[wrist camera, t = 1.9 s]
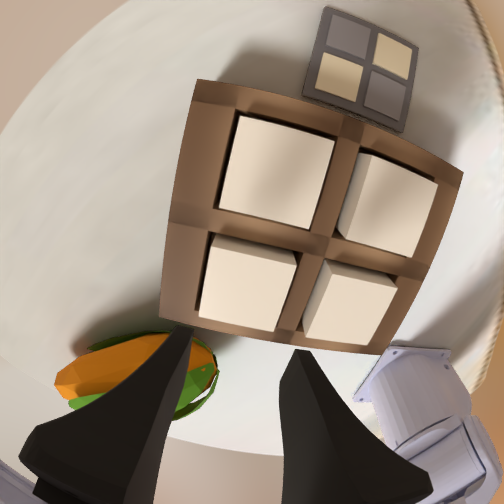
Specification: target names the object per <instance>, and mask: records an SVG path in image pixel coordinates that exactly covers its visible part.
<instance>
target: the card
mask: <svg viewBox="0 0 504 504" xmlns="http://www.w3.org/2000/svg"><path fill="white" fill-rule="evenodd" d="M418 49H419V48H418V47H416V46H415V45H413V44H411V43H409V42H407V41H406V40H404V39H402V38H400V37H398V36H396V35H394V34H392V33H390V32H388V31H386V30H384V29H382V28H379V27H377V26H375V25H373V24H371V23H368V22H366V21H364V20H361V19H359V18H356V17H354V16H351V15H348V14H346V13H343V12H340V11H337V10H335V9H332V8H329V7H326V6H325V7H324V9H323V13H322V17H321V21H320V25H319V29H318V33H317V37H316V41H315V45H314V49H313V53H312V57H311V61H310V64H309V68H308V72H307V76H306V80H305V84H304V88H303V92H302V96H306V97H309V98H312V99H315V100H319V101H322V102H325V103H328V104H331V105H334V106H336V107H339V108H342V109H345V110H347V111H350V112H353V113H355V114H358V115H360V116H363V117H365V118H368V119H370V120H373V121H375V122H377V123H380V124H382V125H384V126H387V127H389V128H391V129H393V130H395V131H398V132H400V133H403V130H404V126H405V122H406V117H407V113H408V108H409V103H410V98H411V93H412V88H413V82H414V76H415V70H416V64H417V56H418Z"/></svg>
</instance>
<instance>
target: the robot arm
mask: <svg viewBox="0 0 504 504" xmlns="http://www.w3.org/2000/svg"><path fill="white" fill-rule="evenodd" d="M193 332H194V329H191V328H187V327H183V326H179V325H178V326H176V327H175V328H174V329H173V331H172V332H171V333H170V335H169V336H168V337H167V338H166V340H165V341H164V342H163V343H162V344H161V345H160V346H159V348H158V349H157V350H156V351H155V352H154V353H153V354H152V355H151V356H150V357H149V358H148V359H147V360H146V361H145V362H144V363H143V364H142V365H140V366H139V367H138V368H137V369H136V370H135V371H134V372H133V373H132V374H130V375H129V376H128V377H127V378H126V379H124V380H123V381H122V382H121V383H119V384H118V385H116V386H115V387H114V388H112V389H111V390H109V391H108V392H106V393H105V394H103V395H102V396H100V397H99V398H97V399H95V400H94V401H92V402H90V403H89V404H87V405H85V406H83V407H81V408H79V409H77V410H75V411H73V412H71V413H69V414H67V415H64V416H62V417H60V418H57V419H54V420H52V421H49V422H46V423H43V424H40V425H37V426H36V427H35V428H34V430H33V431H32V432H31V434H30V435H29V436H28V438H27V440H26V442H25V444H24V446H23V448H22V450H21V452H20V454H19V456H18V457H19V459H20V461H21V462H22V463H23V464H24V465H25V466H26V467H27V468H28V469H29V470H30V471H32V472H33V473H34V474H35V475H36V476H38V480H37V482H36V484H34V483H33V482H31V481H30V480H28V479H27V478H25V477H24V476H22V475H20V474H19V473H18V472H16V471H15V470H13V469H12V468H11V467H9V466H8V465H7V464H5V463H4V462H3V461H1V460H0V504H153V500H154V494H155V489H156V483H157V478H158V472H159V468H160V462H161V457H162V453H163V449H164V444H165V440H166V436H167V433H168V430H169V427H170V424H171V421H172V418H173V416H174V413H175V410H176V407H177V404H178V401H179V399H180V396H181V393H182V390H183V387H184V383H185V379H186V375H187V370H188V366H189V359H190V352H191V345H192V339H193ZM450 355H451V351H450V350H447V349H426V348H411V347H399V346H390V347H388V348H387V349H386V350H385V352H384V353H383V355H382V356H381V358H380V360H379V361H378V363H377V364H376V366H375V367H374V368H373V370H372V371H371V373H370V374H369V376H368V377H367V379H366V380H365V381H364V383H363V384H362V386H361V387H360V388H359V390H358V391H357V392H356V394H355V395H354V396H353V398H352V399H353V402H372V404H373V407H374V410H375V412H376V415H377V418H378V421H379V424H380V428H381V431H382V434H383V437H384V440H385V443H386V445H385V444H384V443H383V442H382V441H380V440H379V439H378V438H377V437H376V436H375V435H374V434H373V433H371V432H370V431H369V430H368V429H367V428H366V427H365V425H364V424H363V423H362V422H361V421H360V420H359V419H358V418H357V417H356V416H355V415H354V414H353V412H352V411H351V410H350V409H349V407H348V406H347V405H346V404H345V402H344V401H343V400H342V398H341V397H340V396H339V394H338V393H337V392H336V390H335V389H334V387H333V386H332V384H331V383H330V381H329V380H328V378H327V377H326V375H325V374H324V372H323V371H322V369H321V367H320V366H319V364H318V363H317V361H316V360H315V358H314V356H313V355H312V353H311V352H310V351H307V350H300V349H295V351H294V353H293V355H292V357H291V359H290V361H289V363H288V366H287V368H286V370H285V372H284V374H283V376H282V378H281V380H280V385H279V410H280V420H281V430H282V440H283V450H284V474H283V475H284V476H283V491H282V503H281V504H489V502H490V501H491V499H492V498H493V496H494V494H495V493H496V491H497V490H498V488H499V486H500V484H501V482H502V475H503V470H502V467H501V464H500V461H499V458H498V454H497V452H496V449H495V447H494V445H493V443H492V441H491V439H490V437H489V435H488V433H487V431H486V429H485V427H484V426H483V424H482V422H481V421H480V419H479V418H478V417H477V416H471V408H472V403H471V397H470V394H469V392H468V391H467V389H466V387H465V386H464V384H463V382H462V381H461V379H460V378H459V376H458V374H457V373H456V371H455V370H454V368H453V367H452V365H451V364H450V362H449V360H448V358H449V356H450Z"/></svg>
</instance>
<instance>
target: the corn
mask: <svg viewBox="0 0 504 504" xmlns="http://www.w3.org/2000/svg"><path fill="white" fill-rule="evenodd" d="M170 333H171V332H169V331H144V332H139V333H135V334H130V335H125V336H120V337H114V338H111V339H108V340H105V341H103V342H100V343H97V344H94V345H92V346H90V347H88V348H87V349H89V350H93V351H95V352H92V353H89V354H85V355H82V356H80V357H78V358H77V359H76V360H74V361H73V362H72V363H70V364H69V365H68V366H66V367H65V368H64V369H62V370H61V371H59V372H58V373H57V376H56V380H55V383H54V386H55V387H56V389H57V390H58V391H59V393H60V394H61V395H62V397H63V398H65V399H68V400H69V403H68V404H69V406H70V407H71V408H73V409H75V410H77V409H79V408H81V407H83V406H85V405H87V404H89V403H90V402H92V401H94V400H95V399H97V398H99V397H100V396H102V395H103V394H105V393H106V392H108V391H109V390H111V389H112V388H114V387H115V386H116V385H118V384H119V383H121V382H122V381H123V380H124V379H126V378H127V377H128V376H129V375H130V374H132V373H133V372H134V371H135V370H136V369H137V368H138V367H139V366H140V365H142V364H143V363H144V362H145V361H146V360H147V359H148V358H149V357H150V356H151V355H152V354H153V353H154V352H155V351H156V350H157V349H158V348H159V346H160V345H161V344H162V343H163V342H164V341H165V340H166V338H167V337H168V336H169V335H170ZM217 367H218V365H217V360H216V356H215V355H214V354H213V352H212V351H211V349H210V348H209V347H208V346H206V345H205V343H204V342H201V341H200V340H198V339H197V338H195V337H193V339H192V345H191V352H190V359H189V366H188V370H187V375H186V379H185V383H184V387H183V390H182V393H181V396H180V399H179V401H178V404H177V407H176V410H175V413H174V416H173V418H172V421H174V420H178V419H181V418H183V417H186V416H188V415H189V414H191V413H193V412H194V411H196V410H198V409H199V408H200V407H201V406H202V405H203V404H204V403H205V402H206V400H207V399H208V398H209V397H210V396H211V395H212V394H213V392H214V389H215V386H216V383H217V379H218V376H219V372H220V371H219V370H218V369H217ZM216 375H217V376H216ZM215 376H216V378H215V380H214V377H215ZM213 380H214V382H213ZM212 382H213V385H212V387H211V389H210V391H209V393H208V394H207V395H206V396H205V397H203V398H201V399H200V400H198V401H196V402H194V403H190V402H191V401H193V400H194V399H195V398H196V397H198V396H199V395H200V394H202V393H203V392H204V391H206V390H207V389H208V388H209V387H210V386H211V384H212Z"/></svg>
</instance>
